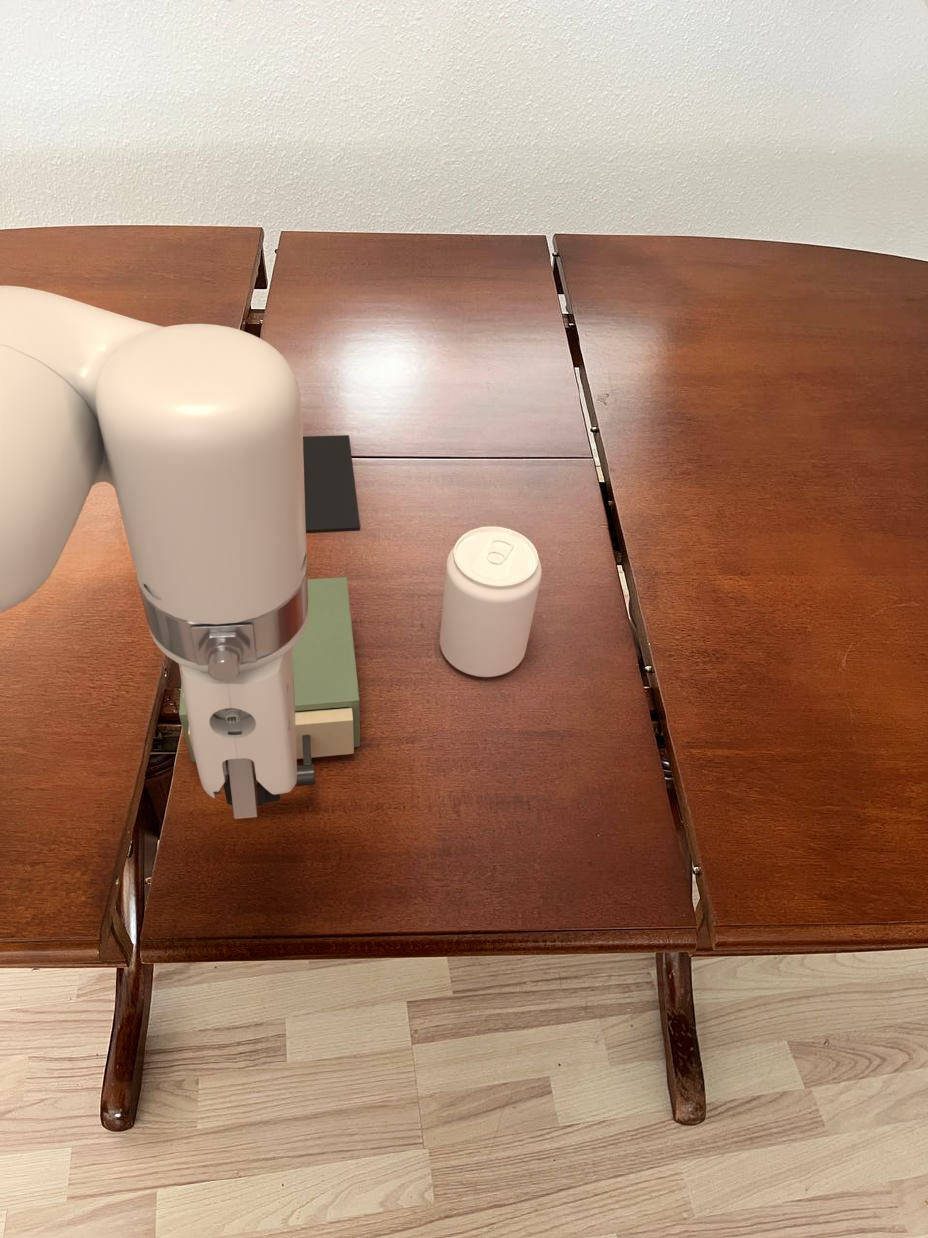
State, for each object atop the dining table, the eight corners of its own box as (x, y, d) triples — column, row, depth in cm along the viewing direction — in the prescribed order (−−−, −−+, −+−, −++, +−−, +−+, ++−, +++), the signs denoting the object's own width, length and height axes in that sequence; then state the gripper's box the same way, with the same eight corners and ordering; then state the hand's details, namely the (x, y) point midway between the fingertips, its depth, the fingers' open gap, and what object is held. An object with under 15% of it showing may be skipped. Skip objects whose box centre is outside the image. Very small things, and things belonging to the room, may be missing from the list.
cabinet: (360, 747, 72) (359, 700, 67) (192, 762, 70) (178, 715, 65) (348, 625, 81) (346, 576, 76) (198, 635, 78) (187, 585, 74)
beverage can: (426, 664, 78) (433, 571, 69) (456, 605, 84) (467, 511, 75) (509, 693, 77) (528, 602, 68) (535, 630, 82) (555, 538, 73)
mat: (160, 539, 86) (160, 536, 86) (170, 443, 97) (170, 440, 96) (360, 530, 90) (360, 527, 89) (348, 437, 100) (348, 434, 100)
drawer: (358, 799, 68) (357, 766, 64) (195, 815, 65) (185, 783, 62) (343, 638, 78) (342, 602, 75) (203, 648, 76) (195, 612, 73)
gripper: (315, 716, 36) (320, 900, 50) (302, 487, 46) (309, 693, 59) (128, 729, 35) (185, 914, 48) (154, 490, 44) (196, 700, 58)
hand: (253, 792), depth 54 cm, fingers closed
